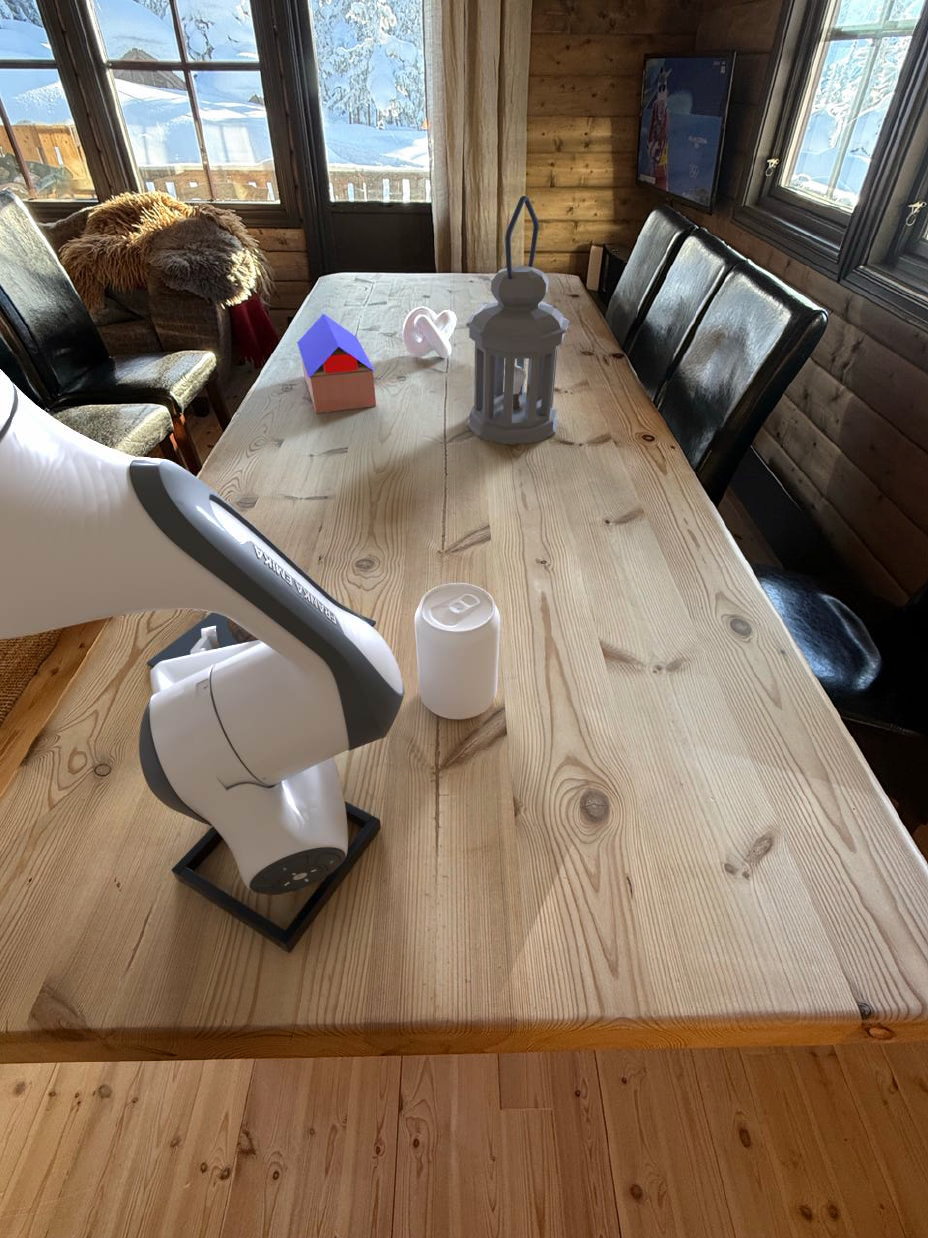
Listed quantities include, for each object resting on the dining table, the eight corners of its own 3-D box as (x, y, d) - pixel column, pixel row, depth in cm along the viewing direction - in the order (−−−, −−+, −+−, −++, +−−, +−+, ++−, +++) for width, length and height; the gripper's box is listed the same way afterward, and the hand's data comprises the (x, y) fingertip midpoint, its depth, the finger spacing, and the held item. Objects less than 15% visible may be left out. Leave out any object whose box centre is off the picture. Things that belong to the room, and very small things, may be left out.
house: (359, 369, 139) (353, 310, 131) (378, 406, 125) (372, 342, 117) (302, 375, 136) (292, 316, 129) (314, 414, 122) (304, 349, 114)
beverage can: (403, 692, 69) (396, 604, 61) (460, 655, 73) (459, 569, 66) (455, 736, 65) (454, 648, 57) (512, 695, 69) (518, 607, 61)
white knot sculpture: (465, 361, 143) (465, 317, 137) (411, 366, 140) (409, 322, 134) (452, 344, 151) (451, 302, 145) (400, 349, 148) (398, 306, 142)
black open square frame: (289, 954, 49) (286, 945, 48) (176, 879, 54) (170, 869, 53) (381, 828, 57) (379, 819, 56) (275, 772, 62) (272, 762, 61)
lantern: (485, 399, 127) (489, 184, 104) (569, 412, 122) (593, 190, 99) (452, 435, 115) (449, 201, 92) (544, 451, 111) (565, 209, 88)
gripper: (383, 665, 59) (352, 577, 69) (142, 723, 54) (145, 620, 64) (388, 712, 64) (358, 622, 73) (165, 769, 58) (164, 665, 68)
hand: (257, 621), depth 69 cm, fingers open, 8 cm apart
